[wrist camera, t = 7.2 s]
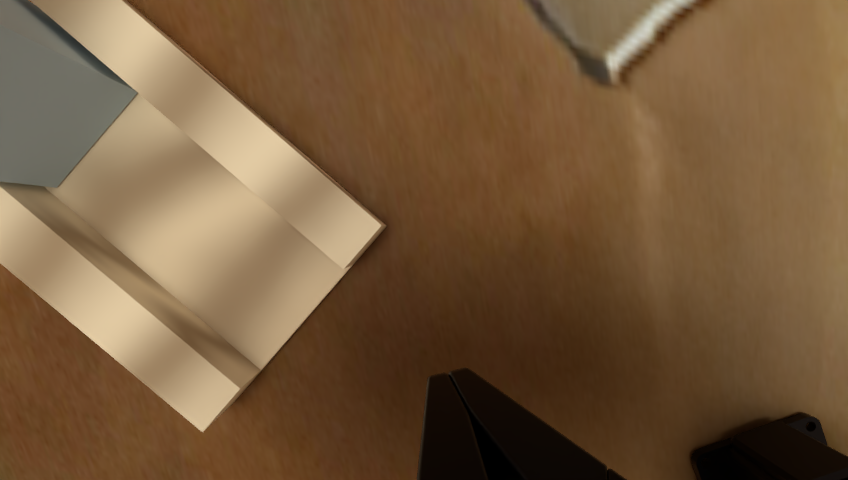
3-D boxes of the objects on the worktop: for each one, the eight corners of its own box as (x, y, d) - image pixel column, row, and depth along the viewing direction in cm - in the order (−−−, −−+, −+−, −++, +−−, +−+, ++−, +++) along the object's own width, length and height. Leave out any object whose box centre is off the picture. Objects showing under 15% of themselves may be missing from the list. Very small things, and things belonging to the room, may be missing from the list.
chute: (387, 225, 21) (381, 225, 18) (232, 403, 21) (202, 432, 18) (91, -31, 21) (35, -75, 18) (-65, 153, 21) (-147, 140, 18)
